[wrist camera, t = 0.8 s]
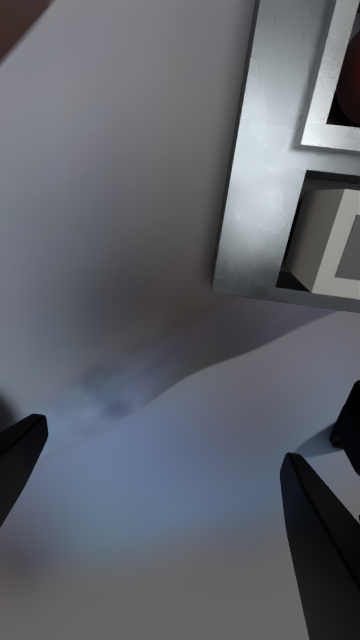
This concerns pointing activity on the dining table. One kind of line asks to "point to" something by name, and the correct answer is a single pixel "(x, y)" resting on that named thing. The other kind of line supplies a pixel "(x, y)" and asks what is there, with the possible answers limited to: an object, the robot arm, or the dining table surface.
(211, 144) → the dining table surface
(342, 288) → the on key
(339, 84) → the button
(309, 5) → the grey flat box
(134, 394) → the dining table surface
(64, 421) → the dining table surface
